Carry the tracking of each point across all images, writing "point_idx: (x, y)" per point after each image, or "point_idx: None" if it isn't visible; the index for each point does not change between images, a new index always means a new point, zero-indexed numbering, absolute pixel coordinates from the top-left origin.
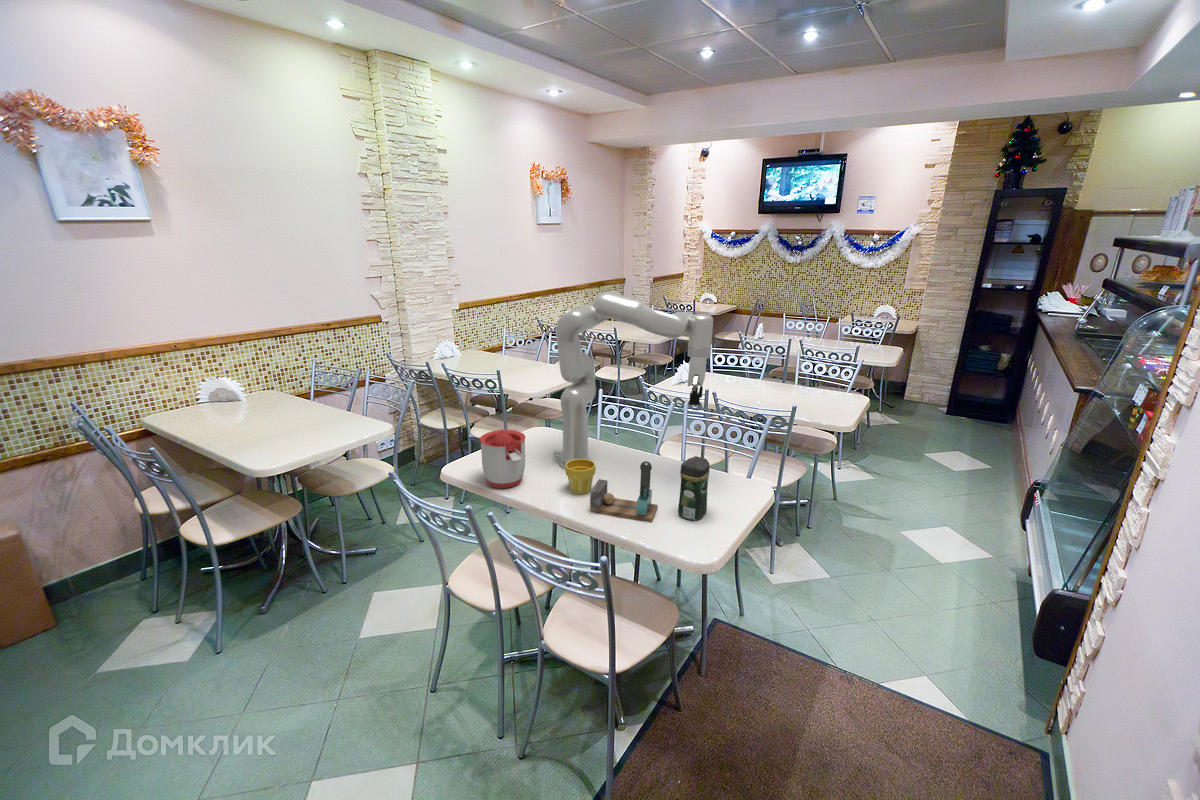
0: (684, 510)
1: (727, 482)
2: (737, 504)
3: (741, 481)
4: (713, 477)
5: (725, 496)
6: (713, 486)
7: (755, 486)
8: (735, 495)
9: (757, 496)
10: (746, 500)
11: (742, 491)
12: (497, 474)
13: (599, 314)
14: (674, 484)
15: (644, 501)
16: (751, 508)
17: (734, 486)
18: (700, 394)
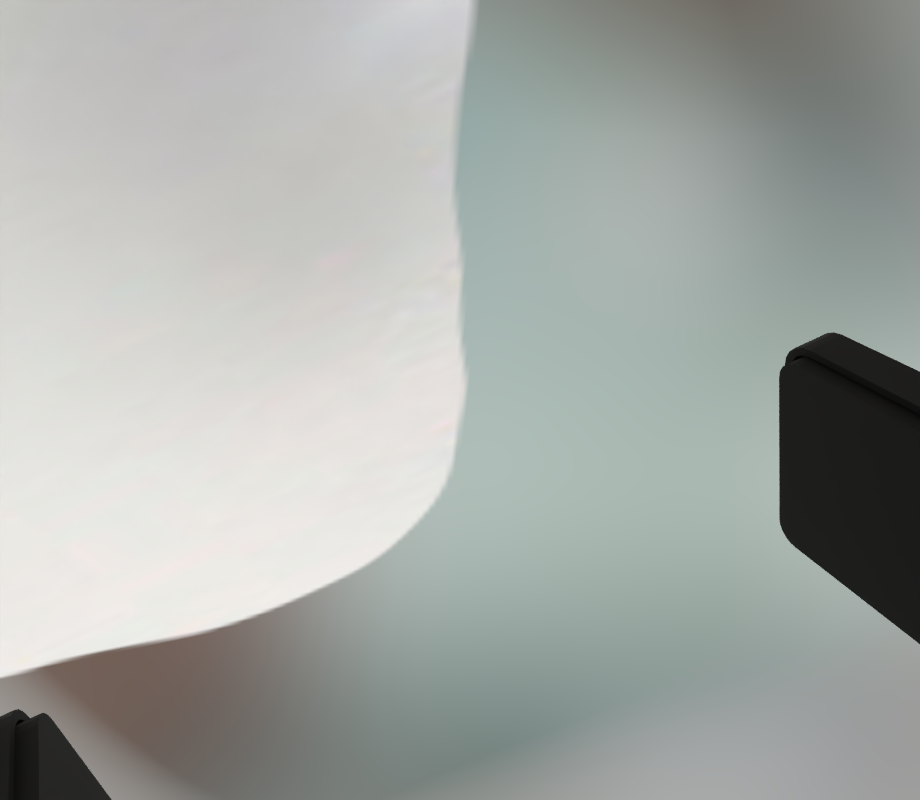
0: None
1: (338, 365)
2: (59, 557)
3: (404, 424)
4: (359, 254)
5: (116, 453)
6: (213, 320)
7: (383, 512)
8: (180, 490)
9: (258, 579)
10: (158, 565)
11: (267, 492)
12: None
13: None
14: (12, 28)
15: None
16: (72, 632)
17: (306, 425)
18: (837, 558)
